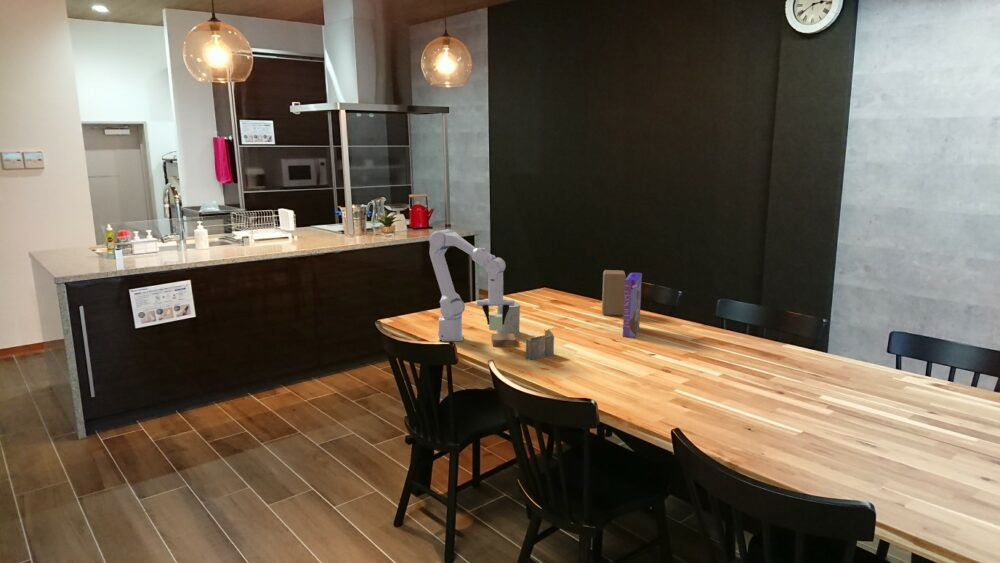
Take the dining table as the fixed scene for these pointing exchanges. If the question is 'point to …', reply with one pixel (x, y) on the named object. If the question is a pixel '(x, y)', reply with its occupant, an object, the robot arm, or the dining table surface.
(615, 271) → the wooden block
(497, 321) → the sage cube
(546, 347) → the ruin model on sheet
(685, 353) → the dining table surface
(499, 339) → the walnut slab
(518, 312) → the grey cylinder
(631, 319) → the cereal box
